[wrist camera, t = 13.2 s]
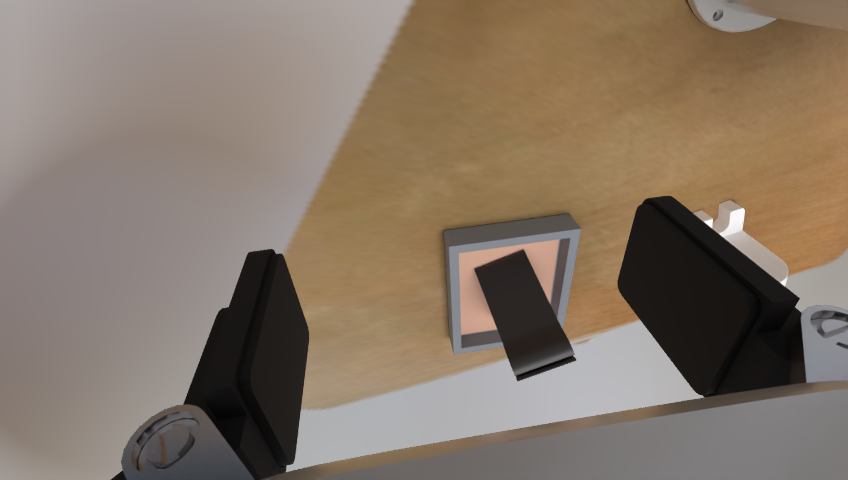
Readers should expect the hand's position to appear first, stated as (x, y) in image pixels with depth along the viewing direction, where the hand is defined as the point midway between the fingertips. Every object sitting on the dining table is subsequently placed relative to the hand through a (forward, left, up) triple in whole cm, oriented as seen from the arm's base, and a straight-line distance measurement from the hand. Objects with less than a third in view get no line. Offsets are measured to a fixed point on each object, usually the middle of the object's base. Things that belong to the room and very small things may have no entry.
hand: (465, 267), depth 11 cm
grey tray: (-11, +27, -28) cm, 40 cm away
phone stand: (-11, +27, -28) cm, 40 cm away
